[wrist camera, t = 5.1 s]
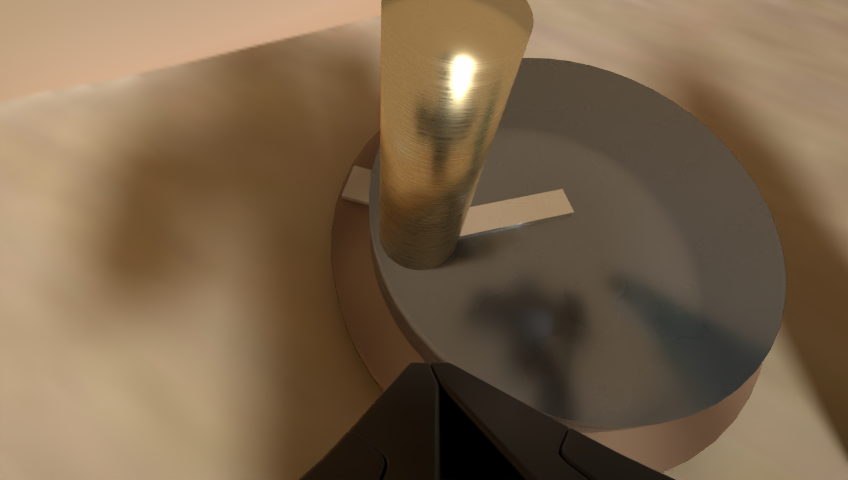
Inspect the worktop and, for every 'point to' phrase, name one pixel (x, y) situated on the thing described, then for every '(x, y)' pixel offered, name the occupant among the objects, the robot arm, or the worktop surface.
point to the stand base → (393, 353)
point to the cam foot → (562, 225)
